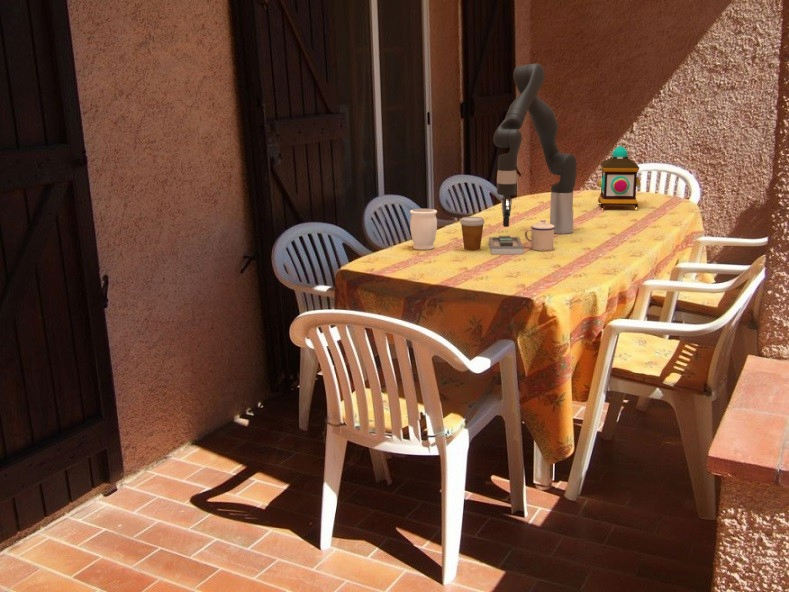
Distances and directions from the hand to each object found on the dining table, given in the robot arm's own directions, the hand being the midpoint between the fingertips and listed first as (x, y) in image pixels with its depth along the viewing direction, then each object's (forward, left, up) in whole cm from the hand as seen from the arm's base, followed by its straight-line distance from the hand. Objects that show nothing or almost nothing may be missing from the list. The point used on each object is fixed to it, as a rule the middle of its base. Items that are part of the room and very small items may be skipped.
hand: (506, 226), depth 341 cm
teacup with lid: (-13, -1, -9) cm, 16 cm away
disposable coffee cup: (+13, -1, -9) cm, 16 cm away
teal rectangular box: (0, 0, -6) cm, 6 cm away
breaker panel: (0, 0, -9) cm, 9 cm away
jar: (+32, -3, -9) cm, 33 cm away
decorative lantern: (-62, -95, -9) cm, 114 cm away
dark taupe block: (0, +5, -6) cm, 8 cm away
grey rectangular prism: (0, -5, -6) cm, 8 cm away
